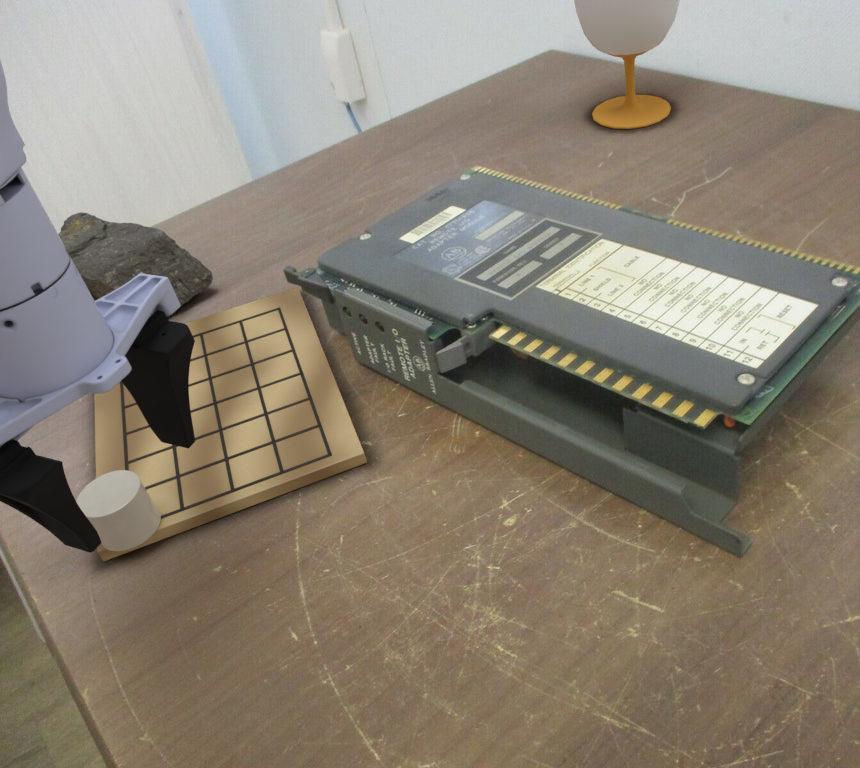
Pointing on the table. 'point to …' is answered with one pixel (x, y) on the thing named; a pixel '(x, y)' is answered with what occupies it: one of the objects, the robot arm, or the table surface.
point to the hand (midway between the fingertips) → (133, 489)
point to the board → (236, 419)
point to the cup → (627, 52)
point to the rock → (129, 256)
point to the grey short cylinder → (120, 510)
